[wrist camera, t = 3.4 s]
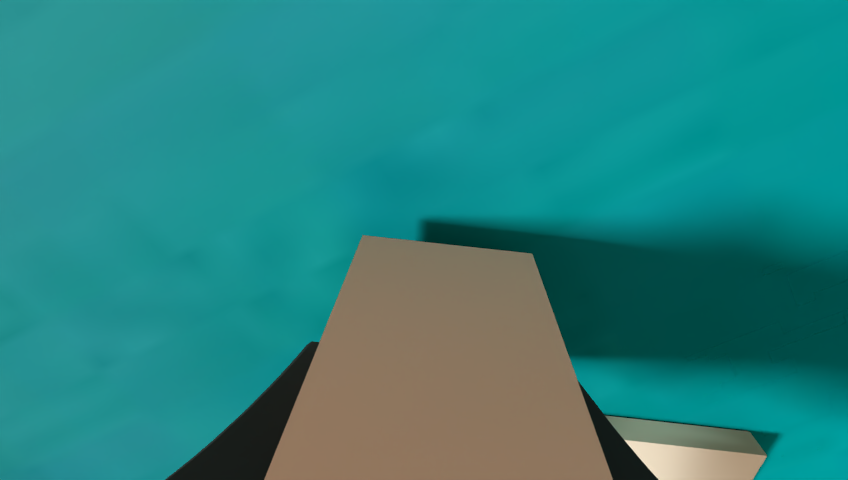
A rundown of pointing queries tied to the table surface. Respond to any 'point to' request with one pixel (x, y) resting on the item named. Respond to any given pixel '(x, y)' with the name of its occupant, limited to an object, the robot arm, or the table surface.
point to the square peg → (440, 375)
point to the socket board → (691, 450)
